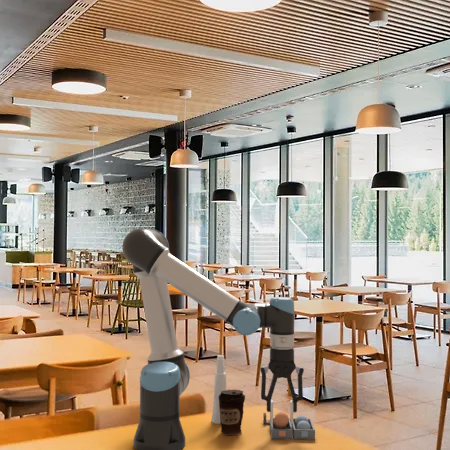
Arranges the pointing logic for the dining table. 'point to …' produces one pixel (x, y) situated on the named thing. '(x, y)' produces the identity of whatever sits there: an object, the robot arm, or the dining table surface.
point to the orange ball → (281, 419)
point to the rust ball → (278, 426)
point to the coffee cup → (231, 411)
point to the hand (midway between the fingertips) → (281, 422)
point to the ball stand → (265, 422)
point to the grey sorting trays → (292, 432)
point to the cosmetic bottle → (218, 387)
